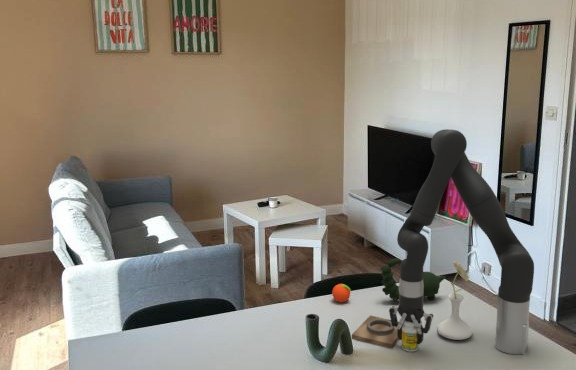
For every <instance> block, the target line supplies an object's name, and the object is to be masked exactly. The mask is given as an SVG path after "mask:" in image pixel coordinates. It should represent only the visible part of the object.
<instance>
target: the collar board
mask: <svg viewBox="0 0 576 370" xmlns="http://www.w3.org/2000/svg"><path fill="white" fill-rule="evenodd" d="M403 325H404V324H403ZM397 332H398V329H397V327H395V326H392V324H391V319H390V318H389V319H388V318H384V317H380V316H376V315H369V316H368V317H367V318H366V319H365V320H364V321H363V322H362V324H360V325H359V326H358V327H357V329H355V330H354V331H353V333H351V339H352V340H356V341H360V342H362V343H363V342H364V343H368V344H372V345H376V346H381V347H384V348H388V349H393V348H394V346H395V345H396V344H397V343H398V341H400V340H399V338H398V336H397Z"/></svg>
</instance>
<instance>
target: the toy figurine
mask: <svg viewBox="0 0 576 370" xmlns="http://www.w3.org/2000/svg"><path fill="white" fill-rule="evenodd" d="M401 262H402V259H401V258H397V257H396V258H395V257H394V258H391V259H389V261H388V263H387V264H384V265H383V266H381V267H380V270H381V273H380V275H381V277H382V280H380V282H381V284H383V286H384V287H383V288H382V290H381V291H382V292H383V293H384V295H386V296H388V295H389V299H392V300H391V301H392V302H393V303H399V285H397V284H396V283H395V282H396V281H395V278H394V277H393V276H394V274H393V272H392V268H393V267H394V266H396V265H397V264H401ZM446 278H447V276H446V275H436V274H434V273H433V272H431V271H423V284H424V294H423V298H424V297H425V298H426V299H427V300H429V301H433V300H435V299H436V295H437V294H439V291H440V290H439V289H440V285H441V284H440V283H441V282H443V281H444V280H445V279H446Z"/></svg>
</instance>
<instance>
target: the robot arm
mask: <svg viewBox="0 0 576 370" xmlns="http://www.w3.org/2000/svg"><path fill="white" fill-rule="evenodd" d="M467 144H468V143H467V138H466V136H465V135H464V134H463V133H462V132H461V131H459V130H456V129H446V128H445V129H441V130H438V131H437V132H435V133H434V135H433V136H432V137H431V140H430V147H431V150H432V153H433V154H434V159H433V163H432V167H431V169H430V172H429V173H428V176H427V177H426V179H425V181H424V182H423V184H422V186H421V188H420V189H419V191H418V193H417V196H416V198H415V201H414V203H413V206H412V208H411V211H410V214H409V216H408V217H407V218H406V219H405V221H404V223H403V225H401V227H400V229H399V231H398V232H397V238H396V240H397V245H398V246H399V248H401V249H402V250H403V251H405V252H406V258H403V260H402V259H401V260H402V262H401V263H400V266H399V267H400V270H399V272H400V273H399V274H400V275H399V282H398V286H399V299H398V306H397V307H396V306H394V305H392V306H391V307H390V308H389V310H388V313H389V319H390V320H391V324H392V326H395V327H397V329H398V332H397V336H398V338H399V340H398V341H402V326H403V324H404V321H408V322H413V323H414V325H415V327H416V328H417V331H418V334H417V344H419V345H421V344H422V343H423V341H424V334H428V333H429V331H430V330H431V326H432V321H433V318H434V314H433V313H427V312H425V310H424V296H423V294H424V284H423V272H424V267H425V262H426V260H427V256H428V252H429V241H428V238H427V237H426V236H425V235H424V234H422V233H421V232H422V230H423V229H424V227H429V226H431V224H433V221H434V219H435V216H436V215H437V212H438V208H439V206H440V203H441V200H442V199H443V196H444V195H443V194H444V193H445V191H446V189H447V186H448V183H449V181H450V180H452V182H453V184H454V186H455V189H456V191H457V192H458V195H459V197H460V198H461V200H462V202H463V205H464V206H465V208H466V209H467V211H468V212H469V215H470V216H471V218H472V219H473V220H474V222H475V223H476V225H477V226H478V227H479V229H480V230H481V231H482V232H483V233H484V234H485V236H486V237H487V238H488V239H489V241H490V243H491V245H492V247H493V250H494V253H495V254H496V257H497V259H498V262H499V265H500V267H501V271H500V282H499V283H500V285H499V286H498V291H497V292H498V293H497V307H496V308H497V309H496V322H495V323H496V326H495V340H494V341H495V342H494V343H495V344H494V345H495V348H496V349H497V350H499V351H501V352H503V353H506V354H509V355H523V356H524V355H525V354H526V352H527V349H528V343H529V342H528V341H529V327H530V319H529V318H530V317H529V316H530V315H529V313H530V305H531V304H530V301H531V300H530V299H531V294H532V292H533V286H534V285H533V284H534V275H535V263H534V260H533V258H532V256H531V255H530V253H529V251H528V250H527V249H526V248H525V246H524V245H523V244H522V242H521V241H520V240H519V239H518V237H517V236H516V234H515V232H514V231H513V229H512V228H511V225H510V224H509V222H508V218H507V216H506V214H505V211H504V209H503V206H502V205H501V203H500V201H499V199H498V197H497V196H496V194H495V192H494V190H493V188H492V187H491V186H490V185H489V183H488V182H487V181H486V180H485V179H484V177H483V176H482V175H481V173H479V172H478V171H477V169H475V168H474V166H473V164H472V163H471V161H470V160H469V158H468V156H467V154H466V150H467ZM397 314H399V316H400V317H401V318H400V319H399V321H398V317H397ZM422 318H424V321H425V325H423V321H422Z"/></svg>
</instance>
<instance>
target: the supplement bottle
mask: <svg viewBox="0 0 576 370" xmlns="http://www.w3.org/2000/svg"><path fill="white" fill-rule="evenodd" d="M417 334H418V331H417V328H416V327H415V325H414V323H413V322H408V321H404V325H403V326H402V340H401V348H402V349H403V350H404V351H406V352H411V353H412V352H416V351H417V350H419V346H420V344H417Z"/></svg>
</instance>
